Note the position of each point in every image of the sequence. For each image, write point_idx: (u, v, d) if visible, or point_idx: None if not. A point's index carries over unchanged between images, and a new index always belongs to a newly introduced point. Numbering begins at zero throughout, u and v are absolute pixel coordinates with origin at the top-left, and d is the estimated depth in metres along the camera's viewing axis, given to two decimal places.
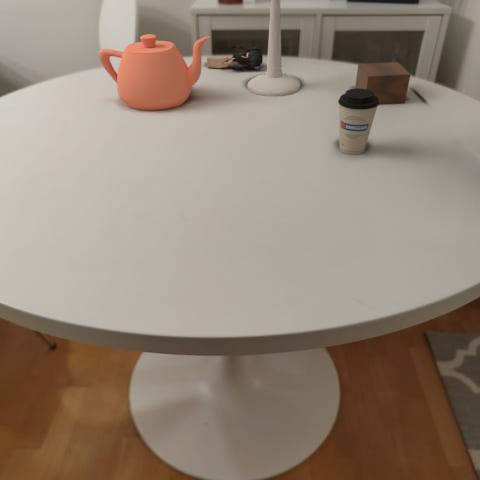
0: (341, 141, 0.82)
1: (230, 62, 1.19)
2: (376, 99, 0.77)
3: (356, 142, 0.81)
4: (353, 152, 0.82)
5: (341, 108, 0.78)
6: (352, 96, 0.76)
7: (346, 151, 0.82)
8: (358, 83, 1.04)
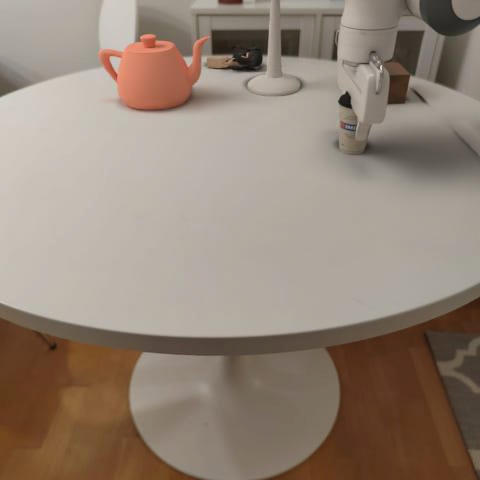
0: (341, 141, 0.82)
1: (230, 62, 1.19)
2: None
3: (355, 142, 0.81)
4: (353, 152, 0.82)
5: (341, 108, 0.78)
6: None
7: (346, 151, 0.82)
8: None
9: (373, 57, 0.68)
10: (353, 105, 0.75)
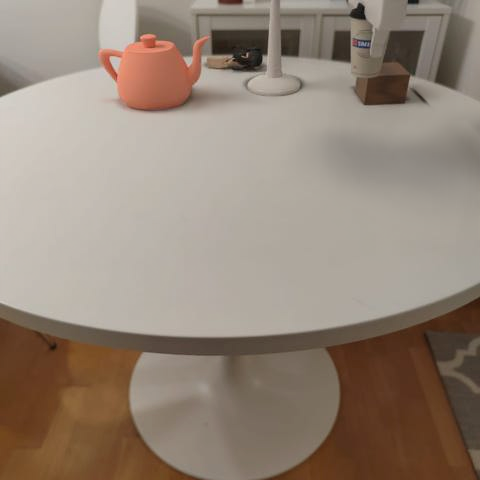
0: (353, 63, 0.73)
1: (230, 62, 1.19)
2: None
3: (370, 63, 0.72)
4: (366, 75, 0.73)
5: (353, 22, 0.69)
6: None
7: (359, 75, 0.74)
8: (358, 83, 1.04)
9: None
10: (367, 14, 0.66)
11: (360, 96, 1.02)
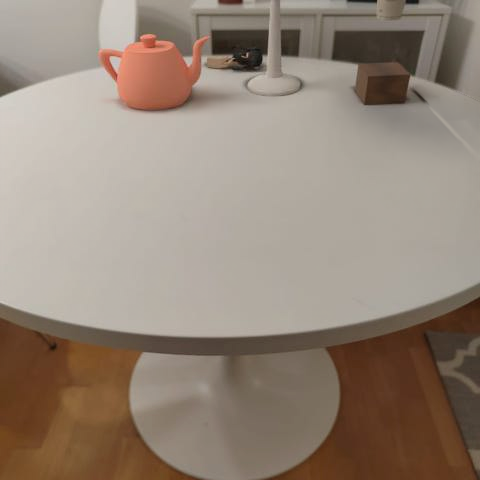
0: (379, 7, 0.85)
1: (230, 62, 1.19)
2: None
3: (394, 6, 0.84)
4: (391, 18, 0.85)
5: None
6: None
7: (384, 17, 0.86)
8: (358, 83, 1.04)
9: None
10: None
11: (360, 96, 1.02)
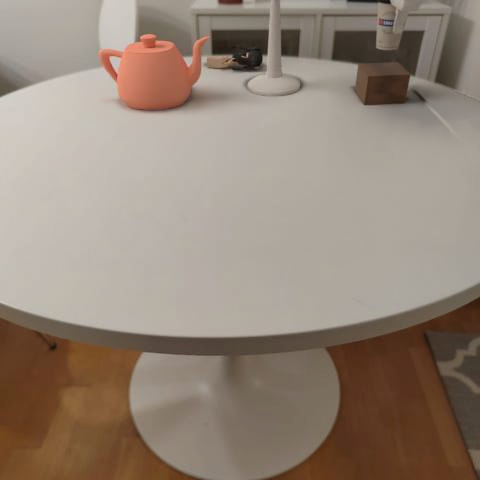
0: (378, 38, 0.95)
1: (230, 62, 1.19)
2: None
3: (391, 38, 0.93)
4: (389, 48, 0.95)
5: (380, 6, 0.91)
6: None
7: (382, 47, 0.95)
8: (358, 83, 1.04)
9: None
10: None
11: (360, 96, 1.02)
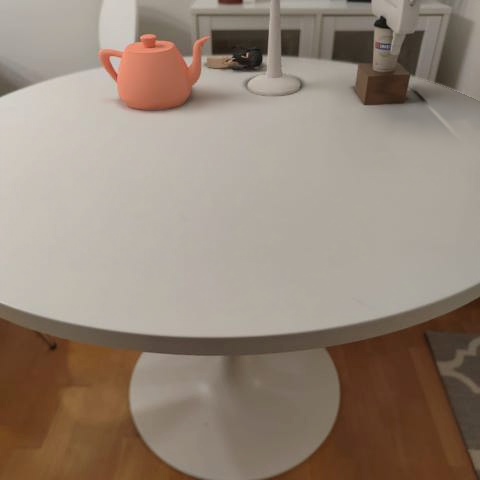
0: (375, 61, 0.98)
1: (230, 62, 1.19)
2: None
3: (388, 60, 0.96)
4: (385, 70, 0.98)
5: (376, 30, 0.94)
6: None
7: (379, 69, 0.98)
8: (358, 83, 1.04)
9: None
10: (389, 21, 0.90)
11: (360, 96, 1.02)
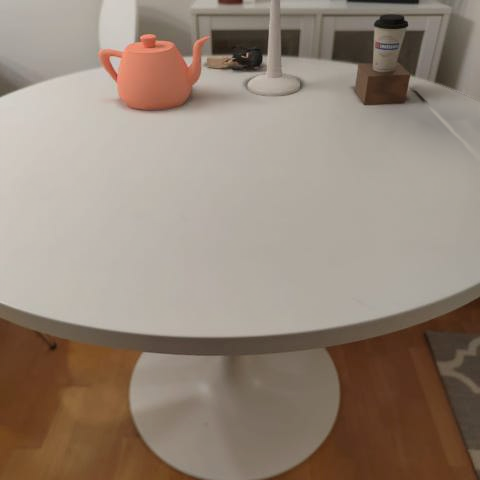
0: (375, 61, 0.98)
1: (230, 62, 1.19)
2: (406, 22, 0.93)
3: (388, 60, 0.96)
4: (385, 70, 0.98)
5: (376, 30, 0.94)
6: (386, 18, 0.92)
7: (379, 69, 0.98)
8: (358, 83, 1.04)
9: None
10: None
11: (360, 96, 1.02)
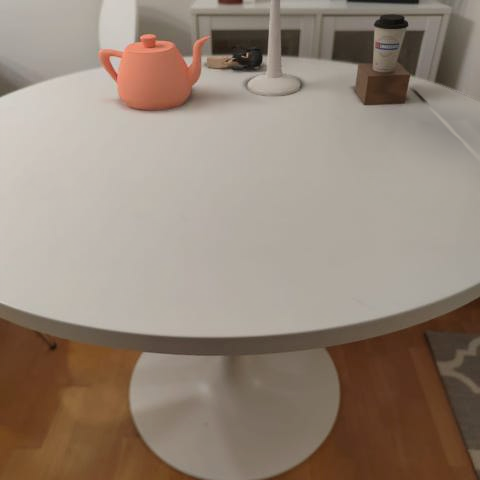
0: (375, 61, 0.98)
1: (230, 62, 1.19)
2: (406, 22, 0.93)
3: (388, 60, 0.96)
4: (385, 70, 0.98)
5: (376, 30, 0.94)
6: (386, 18, 0.92)
7: (379, 69, 0.98)
8: (358, 83, 1.04)
9: None
10: None
11: (360, 96, 1.02)
